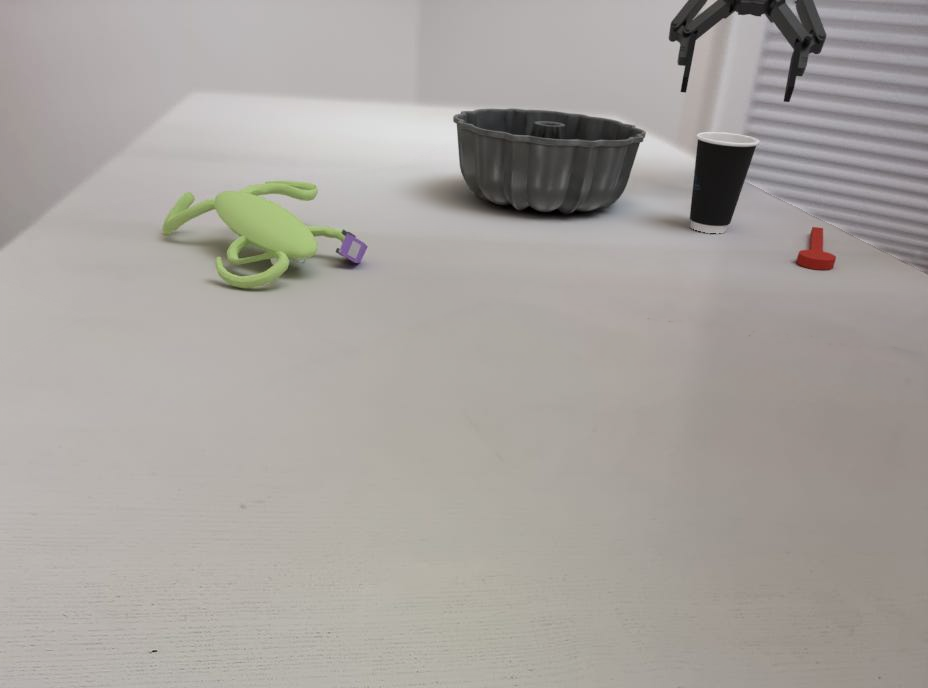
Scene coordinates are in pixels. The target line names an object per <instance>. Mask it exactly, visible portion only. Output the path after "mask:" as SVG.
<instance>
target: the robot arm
mask: <svg viewBox="0 0 928 688" xmlns="http://www.w3.org/2000/svg"><path fill="white" fill-rule="evenodd" d="M707 2H708V0H687V1H686V2H685V4H684V5H683V6H682V7H681V9H680V10H679V11H678V13H677V14H676V15H675V17H674V18H673V19H672V20H671V22H670V24H669V25H670V26H669V33H668V41H669V42H672V43H673V42H678V43H679V50H678V56H677V66H680V67H681V66H682V67H684V68H683V69H684V71H683V75H682V81H681V87H680V93H687V90H688V84H689V79H690V73H691V69H692V63H693V58H694V53H695V47H696V43H697V42H696V41H697V40H698V39H699V38H701V37H702V36H703V35H704V34H706V33H707V32H708V31H709V30H710V29H712V28H713V27H714V26H715V25H717V24H718V23H720V22H721V21H722V20H723V19H724V20H727V19H728V18H729V17H730V16H731V15H732V14H733V13H735V12H736V13H737V15H738V16H746V15H751V16H754V17H762V15H765V17H766V18H767V19H768V21H769V22H770V23H773V24H774V25H775V26H776V28H777V29H778V30H779V33H781V35H782V36H783V37H784V38H785V40H786V41H787V42H788V44H789V45H790V47H791V48H792V49H793V52H792V53H791V58H790V63H789V68H788V74H787V80H786V85H785V89H784V90H785V91H784V96H783V102H784V103H790V101H791V98H792V95H793V93H794V90H795V87H796V80H797V77H803V75H804V74H805V72H806V69H807V66H808V60H809V55H810V54H814V55H819V54H821V53H822V50H823V48H824V46H825V45H824V44H825V43H826V40H827V32H826V31H825V30H826V29H825V28H824V25H823V22H822V20H821V17H820V14H819V12H818V9H817V7H816V4H815V1H814V0H791V3H792V4H795V10H796V13H797V15H798V17H797V16H796V14H795V13H794V11H793V10H792V9H791V7H790V6H789V5H788V4H787V2H786V0H716V1H715V2H713V3H712V4H711V5H710V6H708V7H707V8H705V10H703V11H702V12H701V13H699V12H700V11H701V10H702V9H703V8H704V7H705V5H706V4H707ZM798 18H799V19H798Z"/></svg>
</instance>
